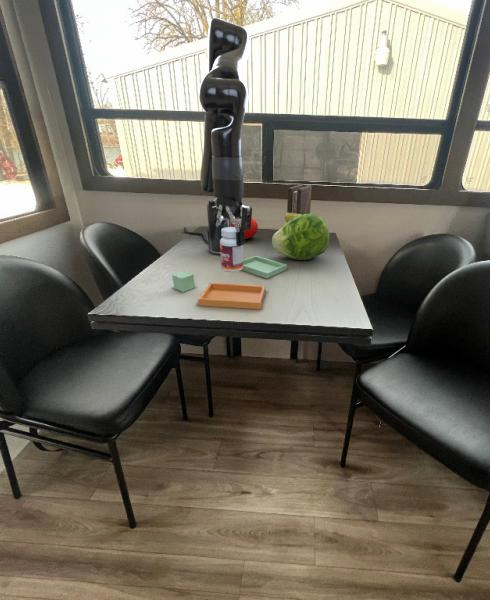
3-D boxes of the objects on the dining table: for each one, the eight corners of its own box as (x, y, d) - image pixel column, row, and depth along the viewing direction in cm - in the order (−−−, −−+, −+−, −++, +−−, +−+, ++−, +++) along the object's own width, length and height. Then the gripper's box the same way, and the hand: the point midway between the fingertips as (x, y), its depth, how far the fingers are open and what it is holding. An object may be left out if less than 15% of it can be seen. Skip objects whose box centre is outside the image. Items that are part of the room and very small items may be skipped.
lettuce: (275, 250, 134) (268, 211, 122) (326, 243, 133) (324, 203, 121) (275, 273, 119) (268, 231, 108) (333, 265, 118) (332, 222, 107)
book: (296, 233, 160) (298, 184, 149) (311, 235, 157) (315, 185, 146) (281, 244, 141) (283, 188, 130) (298, 246, 139) (301, 190, 127)
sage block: (173, 288, 93) (172, 274, 91) (185, 283, 97) (184, 270, 95) (182, 292, 91) (181, 278, 89) (194, 287, 94) (193, 274, 92)
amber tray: (198, 305, 84) (198, 299, 83) (210, 288, 94) (210, 282, 93) (260, 309, 83) (260, 303, 82) (265, 291, 94) (265, 285, 93)
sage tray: (235, 267, 111) (234, 262, 110) (255, 260, 120) (255, 255, 119) (267, 278, 103) (267, 273, 102) (286, 269, 112) (286, 264, 111)
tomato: (233, 234, 153) (233, 212, 147) (259, 236, 151) (259, 213, 146) (226, 241, 142) (224, 216, 137) (254, 243, 140) (253, 218, 135)
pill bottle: (216, 268, 84) (214, 228, 79) (233, 263, 88) (232, 225, 83) (231, 274, 81) (229, 233, 76) (247, 268, 85) (247, 229, 80)
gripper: (259, 178, 73) (260, 245, 80) (219, 174, 80) (223, 235, 88) (238, 180, 67) (240, 251, 75) (197, 175, 74) (203, 240, 82)
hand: (231, 242), depth 81 cm, fingers closed on pill bottle, 6 cm apart
